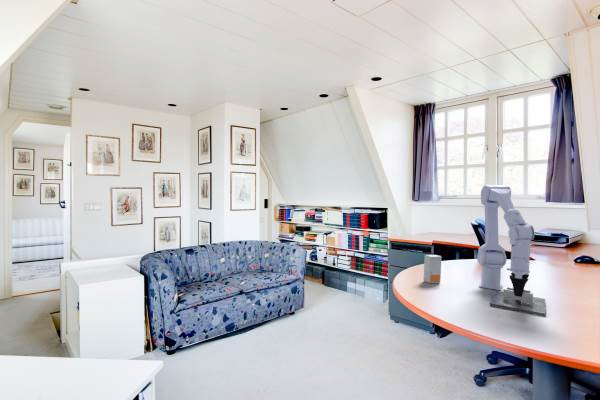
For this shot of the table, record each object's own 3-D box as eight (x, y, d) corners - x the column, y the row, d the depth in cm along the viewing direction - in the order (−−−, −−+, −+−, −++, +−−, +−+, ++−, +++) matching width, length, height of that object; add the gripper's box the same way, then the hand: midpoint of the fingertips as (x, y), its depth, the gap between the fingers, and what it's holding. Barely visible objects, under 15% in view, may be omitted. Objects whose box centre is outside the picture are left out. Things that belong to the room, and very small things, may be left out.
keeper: (496, 293, 135) (496, 280, 134) (545, 301, 125) (545, 288, 125) (489, 305, 118) (490, 292, 118) (545, 316, 109) (546, 301, 109)
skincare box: (429, 283, 146) (430, 256, 146) (423, 281, 151) (424, 254, 150) (440, 283, 148) (441, 256, 148) (434, 280, 152) (435, 254, 152)
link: (502, 297, 122) (503, 289, 122) (504, 294, 126) (504, 286, 126) (532, 302, 117) (533, 294, 117) (532, 299, 121) (533, 291, 121)
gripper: (508, 253, 130) (507, 288, 130) (505, 258, 118) (504, 296, 118) (530, 255, 125) (529, 291, 126) (529, 261, 114) (528, 301, 114)
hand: (518, 294), depth 122 cm, fingers closed on link, 5 cm apart
